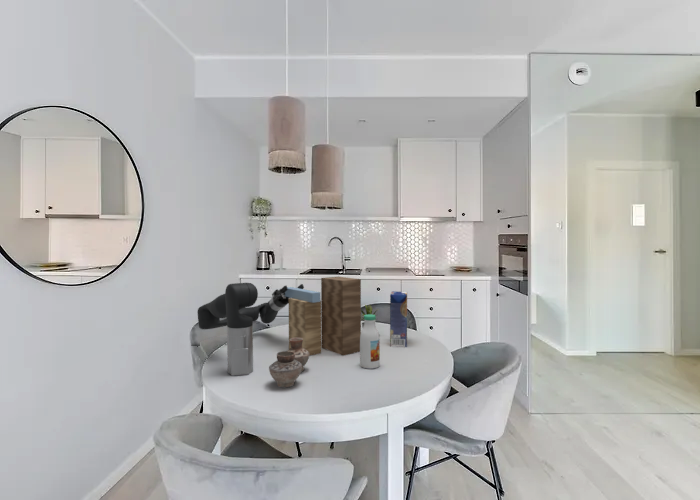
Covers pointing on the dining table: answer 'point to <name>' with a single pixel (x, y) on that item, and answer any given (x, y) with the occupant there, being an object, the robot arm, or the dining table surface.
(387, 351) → the dining table surface
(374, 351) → the milk bottle
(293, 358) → the pottery
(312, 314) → the lower block
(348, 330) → the tall stand
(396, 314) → the juice carton
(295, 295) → the rod
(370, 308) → the house plant
